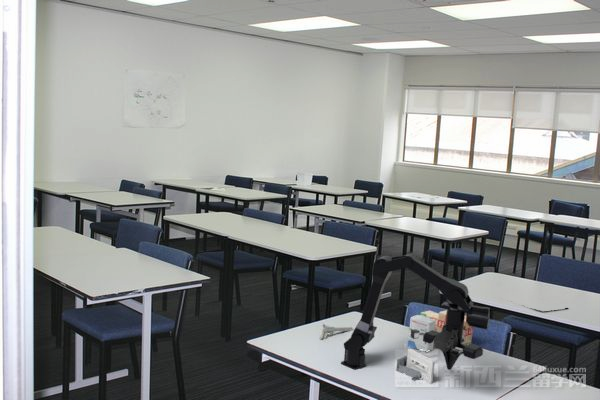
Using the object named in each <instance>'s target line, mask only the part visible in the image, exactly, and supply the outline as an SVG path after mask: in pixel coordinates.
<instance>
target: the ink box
mask: <svg viewBox="0 0 600 400" xmlns="http://www.w3.org/2000/svg"><path fill="white" fill-rule="evenodd" d="M435 325H436V321H435V320H433V319H430V318H427V317H423V316H420V314H416V315H413V316H411V317H410V319H409V329H408V330H409V331H408V338H407V339H408V341H407V347H409V346H410V347H409V348H411V347H413V348H412V349H414V348H417V349H423V350H426V351H428V350H432V351H433V350H434V340H433V342H432V343H430V344H429V343H427V342H424V341H423V335H424V334H425V333H426V332H429V331H432V330H434V331H435ZM417 349H416V350H417Z"/></svg>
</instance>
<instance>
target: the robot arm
mask: <svg viewBox="0 0 600 400" xmlns="http://www.w3.org/2000/svg"><path fill="white" fill-rule="evenodd" d="M402 269H407V270H409V271H411V272H412V273H414V274H415V275H417V276H418V277H420V278H422V279H423V280H424V281H426V282H428V283H429V284H430V285H432V286H434V287H435V288H436V289H437V290H438V291H440V293H441V295H442V296H443V297H445V298H446V301H444V302H443V303H442V304H441V305H440V308H442V309H446V310H447V313H446V322H445V325H443V327H442V331H441V332H440V333H439V332H437V331H434V330H432V331H429V332H426V333H425V334H424V335H423V341H424V342H427V343H429V344H430V343H432V342H433V340H434V342H433V348H434V349H436V350H437V349H438V350H439V351H441V352H442V355H443V358H444V360H445V365H446V368H447V370H448V371H452V369H453V368H454V366H455V364H456V362H457V360H458V359H459V357H460V356H461V355H462V354H463V356H464V357H466V358H469V359H472V360H476V359H477V358H480V357H481V356H483V355H484V349H483V348H482V346H480V345H477V344H475V343H472V342H471V344H469V345H464V344H462V342H464V339H463V338H462V336H463V330H465V327H466V326H464V319H465V316H466V322H467V324H469V326H471V327H473V328H477V329H480V330H481V329H482V330H487V331H488V329H489V324H490V318H491V316H490V309H491V308H490V307H487V306H480V305H479V306H478V305H474V302H473V300H472V298H471V297H470V295H469V289H468V286H467V285H466V284H465V283H462V282H460V281H458V280H456V279H452V278H449V277H447V276H444V275H443V274H441V273H440V272H438V271H436V270H435V269H434V268H432V267H430V266H429V265H428V264H426V263H424V262H423V261H421V260H420V259H418V258H417V257H416V256H415V255H413V254H411V253H407V254H405V255H404V254H403V255H398V256H392V257H391V256H390V255H383V256H381V257H379V258H378V259H376V260H375V261H374V262H373V265H372V272H371V277H372V280H371V286H370V288H369V292H368V295H367V298H366V300H365V301H366V302H365V304H364V308H363V310H362V314H361V318H360V319H359V321H358V323H357V325H356V326H355V328H353V329H354V330H352V333H351V336H350V338H348V339H347V340H346V341H345V342H344V343H343V347H344V357H343V358H344V359H343V360H342V361H340V364H341V365H344V366H345V367H348V368H350V369H353V370H357V369H360V368H363V367H366V366H367V363H366V351H365V350H366V348H364V347H366V345H367V344H369V343H370V342H371V341H373V339H374V338H375V332H376V331H377V328H378V327H377V326H376V325H374V320H375V316H376V313H377V310H378V307H379V303H380V301H381V298H382V295H383V291H384V289H385V285H386V283H387V281H388V280H389V279H390V277H391V276H392V273H393V272H395V271H399V270H402Z"/></svg>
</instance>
